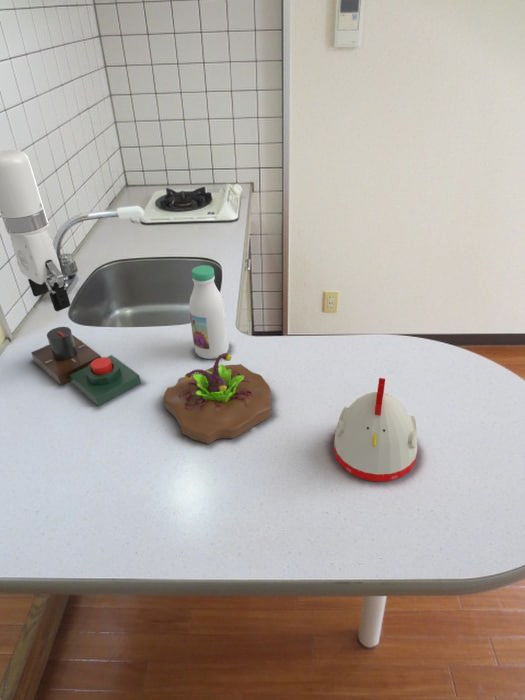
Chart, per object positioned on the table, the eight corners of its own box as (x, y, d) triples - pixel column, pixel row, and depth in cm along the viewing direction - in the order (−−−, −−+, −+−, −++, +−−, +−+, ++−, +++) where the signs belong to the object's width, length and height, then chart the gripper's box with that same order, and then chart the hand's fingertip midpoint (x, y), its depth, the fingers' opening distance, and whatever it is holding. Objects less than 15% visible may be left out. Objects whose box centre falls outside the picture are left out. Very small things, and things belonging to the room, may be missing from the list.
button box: (72, 383, 110) (67, 368, 108) (113, 362, 116) (109, 347, 114) (98, 406, 104) (93, 390, 101) (141, 383, 109) (137, 368, 107)
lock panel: (34, 361, 118) (30, 351, 116) (74, 343, 123) (72, 333, 122) (60, 385, 110) (57, 375, 108) (103, 365, 115) (100, 355, 114)
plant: (290, 415, 99) (289, 367, 93) (195, 455, 91) (187, 406, 85) (242, 363, 114) (238, 319, 107) (156, 393, 106) (147, 348, 100)
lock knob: (49, 354, 115) (42, 332, 112) (70, 344, 118) (63, 322, 115) (60, 363, 112) (52, 340, 109) (81, 353, 115) (74, 331, 112)
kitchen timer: (327, 473, 87) (330, 403, 78) (340, 418, 98) (343, 352, 89) (414, 488, 83) (427, 416, 75) (417, 430, 94) (428, 361, 86)
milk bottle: (224, 338, 122) (216, 258, 111) (233, 355, 116) (225, 273, 105) (192, 344, 121) (180, 265, 109) (199, 363, 114) (187, 280, 103)
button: (89, 370, 108) (87, 363, 107) (106, 361, 110) (104, 354, 109) (99, 378, 105) (97, 371, 104) (116, 369, 108) (114, 362, 107)
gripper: (-12, 217, 102) (17, 295, 111) (26, 238, 91) (54, 322, 101) (25, 206, 106) (50, 282, 116) (65, 225, 95) (89, 307, 105)
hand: (51, 301), depth 108 cm, fingers open, 9 cm apart
